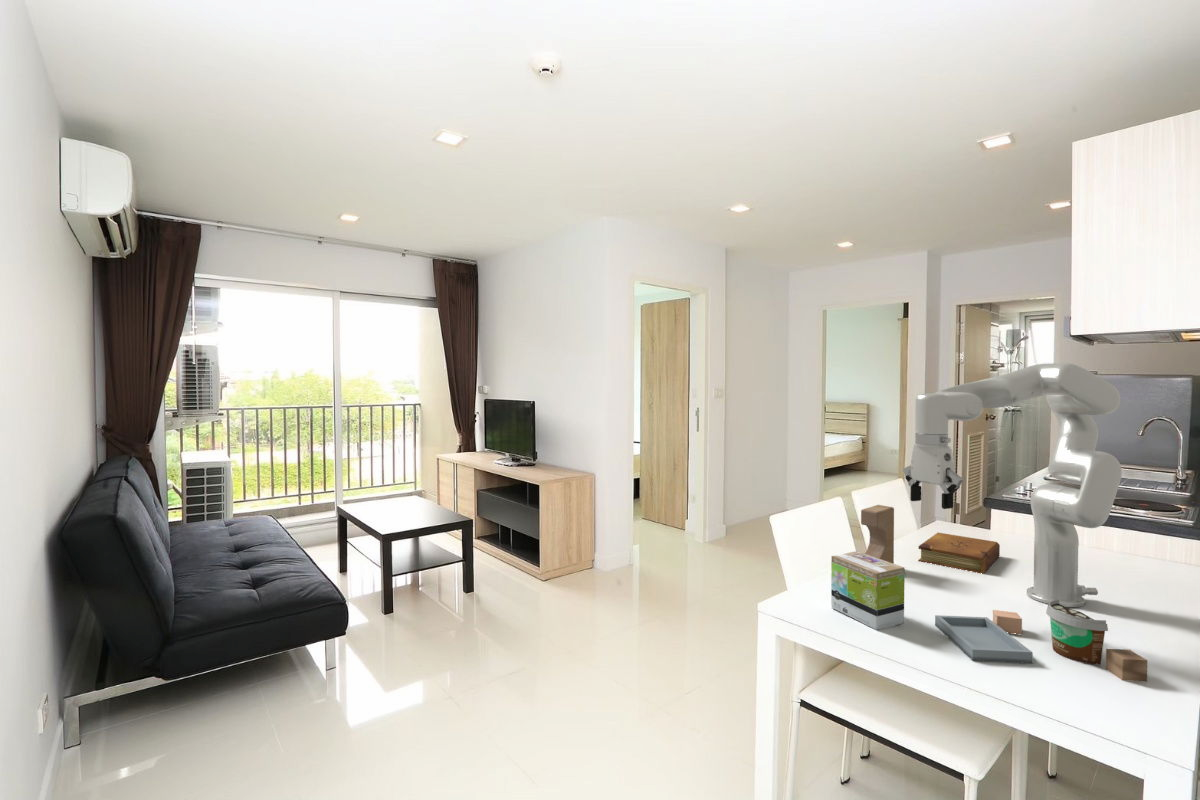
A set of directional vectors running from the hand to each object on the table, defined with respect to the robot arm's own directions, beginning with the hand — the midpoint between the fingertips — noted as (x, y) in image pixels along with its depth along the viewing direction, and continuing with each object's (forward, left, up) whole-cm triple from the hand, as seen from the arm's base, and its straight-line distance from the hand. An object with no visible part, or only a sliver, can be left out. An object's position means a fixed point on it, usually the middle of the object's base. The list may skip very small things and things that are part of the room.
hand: (931, 504), depth 151 cm
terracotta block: (-13, +12, -28) cm, 33 cm away
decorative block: (+3, -30, -28) cm, 42 cm away
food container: (-19, +23, -28) cm, 41 cm away
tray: (-3, +20, -28) cm, 34 cm away
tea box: (+18, +7, -28) cm, 34 cm away
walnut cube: (-25, +32, -28) cm, 49 cm away
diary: (-28, -44, -29) cm, 60 cm away
